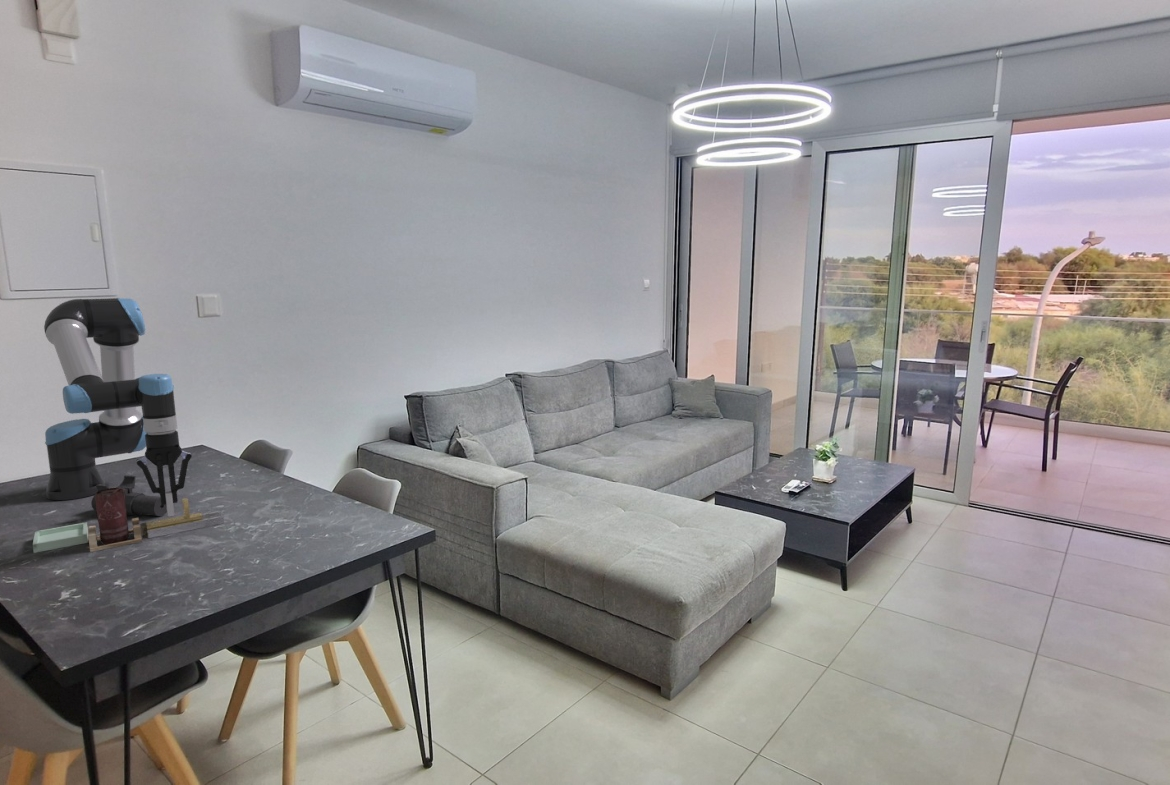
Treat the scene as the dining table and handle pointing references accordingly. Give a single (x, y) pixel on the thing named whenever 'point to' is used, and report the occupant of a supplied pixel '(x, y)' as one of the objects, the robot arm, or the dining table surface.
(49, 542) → the pale green shallow tray
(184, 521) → the keeper bolt
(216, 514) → the keeper guide
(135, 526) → the socket
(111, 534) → the can
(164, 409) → the robot arm
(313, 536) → the dining table surface
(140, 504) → the laser sight
